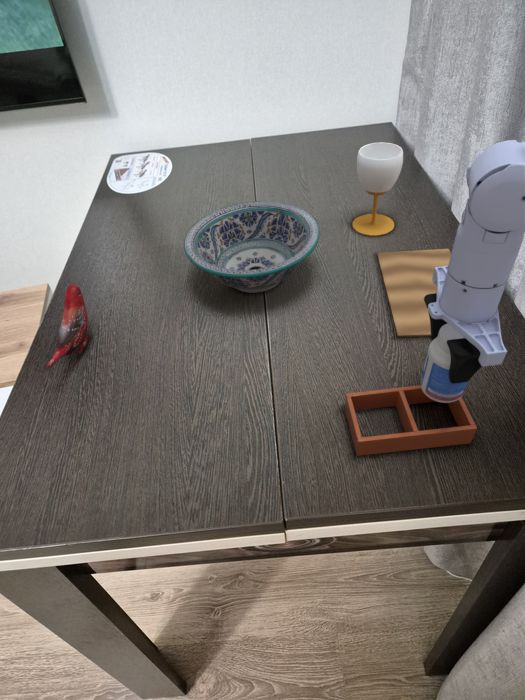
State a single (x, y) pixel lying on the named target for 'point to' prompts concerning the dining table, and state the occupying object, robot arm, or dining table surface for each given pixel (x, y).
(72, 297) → the decorative bird figurine
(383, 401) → the holder
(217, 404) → the dining table surface
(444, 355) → the pill bottle
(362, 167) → the cup
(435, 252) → the mat
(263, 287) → the bowl
